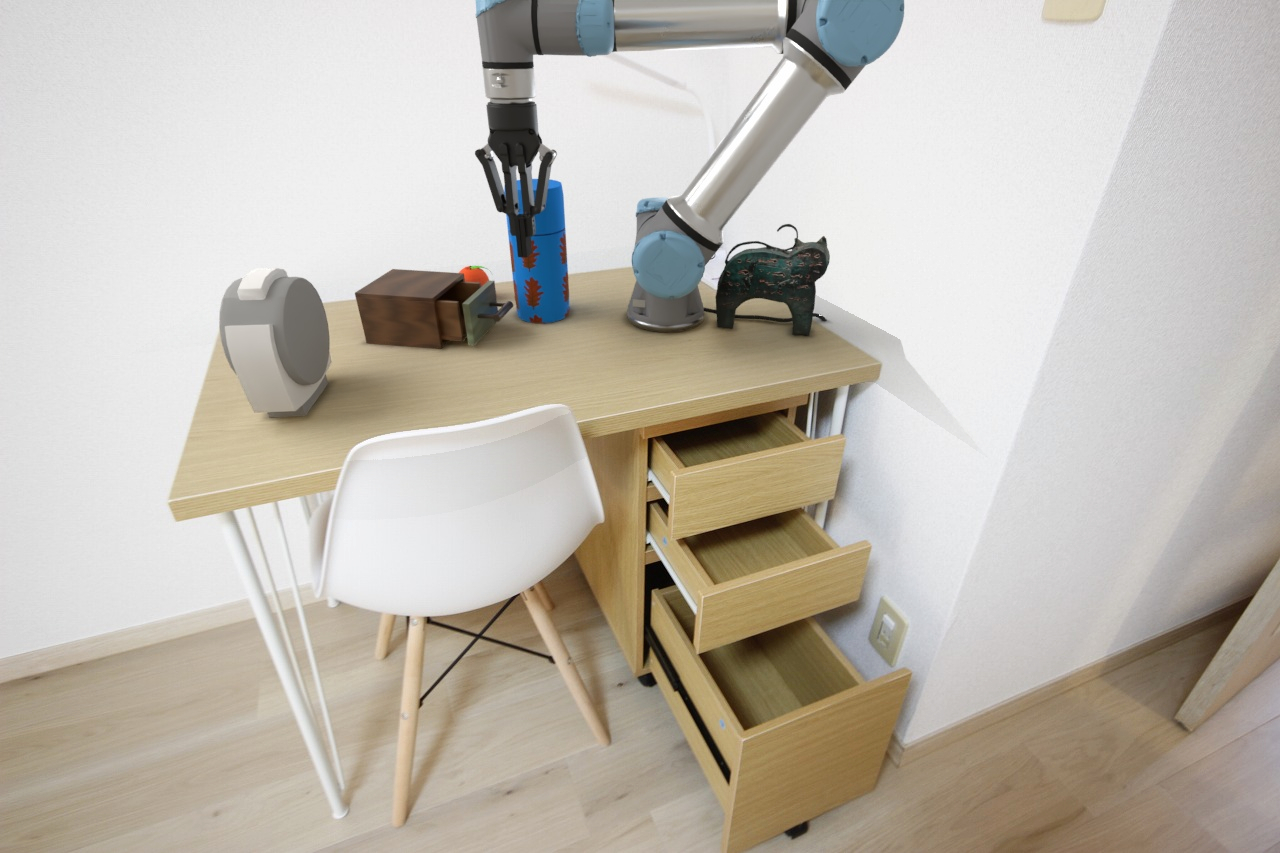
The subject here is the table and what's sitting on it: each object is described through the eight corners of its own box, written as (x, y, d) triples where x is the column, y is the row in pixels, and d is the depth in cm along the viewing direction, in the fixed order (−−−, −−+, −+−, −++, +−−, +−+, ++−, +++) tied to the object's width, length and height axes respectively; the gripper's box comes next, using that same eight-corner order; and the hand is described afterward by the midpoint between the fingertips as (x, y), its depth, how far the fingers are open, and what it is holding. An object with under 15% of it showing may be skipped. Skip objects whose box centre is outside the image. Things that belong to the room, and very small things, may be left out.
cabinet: (470, 320, 127) (464, 273, 122) (441, 349, 116) (432, 298, 111) (402, 315, 130) (392, 268, 125) (366, 343, 118) (354, 292, 113)
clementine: (489, 290, 142) (485, 258, 139) (500, 299, 137) (496, 267, 134) (454, 296, 139) (449, 264, 135) (463, 306, 134) (459, 273, 130)
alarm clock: (293, 374, 107) (256, 253, 97) (346, 372, 108) (314, 252, 97) (246, 431, 92) (196, 295, 82) (308, 428, 93) (266, 293, 82)
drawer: (520, 321, 125) (516, 282, 121) (497, 347, 115) (492, 305, 111) (434, 314, 128) (427, 276, 123) (404, 340, 117) (395, 299, 113)
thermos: (560, 325, 125) (551, 191, 112) (508, 321, 127) (494, 189, 114) (576, 305, 134) (569, 179, 121) (527, 302, 136) (516, 177, 123)
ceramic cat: (818, 328, 125) (834, 223, 114) (818, 341, 119) (835, 232, 109) (716, 319, 129) (723, 216, 118) (711, 331, 123) (718, 225, 113)
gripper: (459, 101, 95) (480, 259, 108) (545, 103, 93) (556, 263, 106) (479, 97, 102) (496, 246, 114) (560, 99, 100) (568, 250, 112)
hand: (525, 254), depth 110 cm, fingers closed
